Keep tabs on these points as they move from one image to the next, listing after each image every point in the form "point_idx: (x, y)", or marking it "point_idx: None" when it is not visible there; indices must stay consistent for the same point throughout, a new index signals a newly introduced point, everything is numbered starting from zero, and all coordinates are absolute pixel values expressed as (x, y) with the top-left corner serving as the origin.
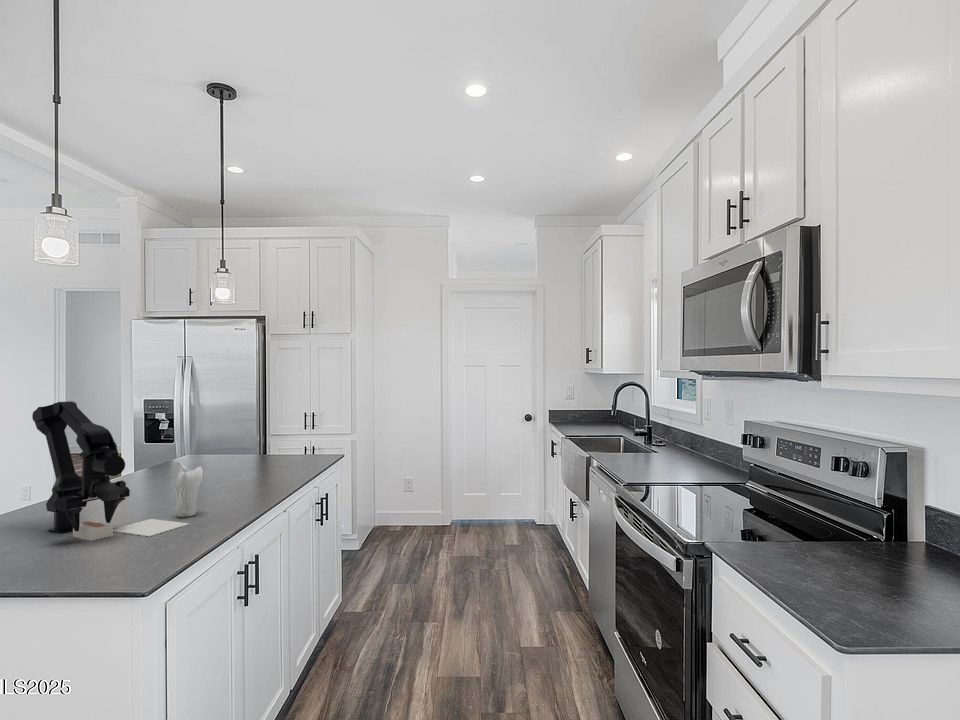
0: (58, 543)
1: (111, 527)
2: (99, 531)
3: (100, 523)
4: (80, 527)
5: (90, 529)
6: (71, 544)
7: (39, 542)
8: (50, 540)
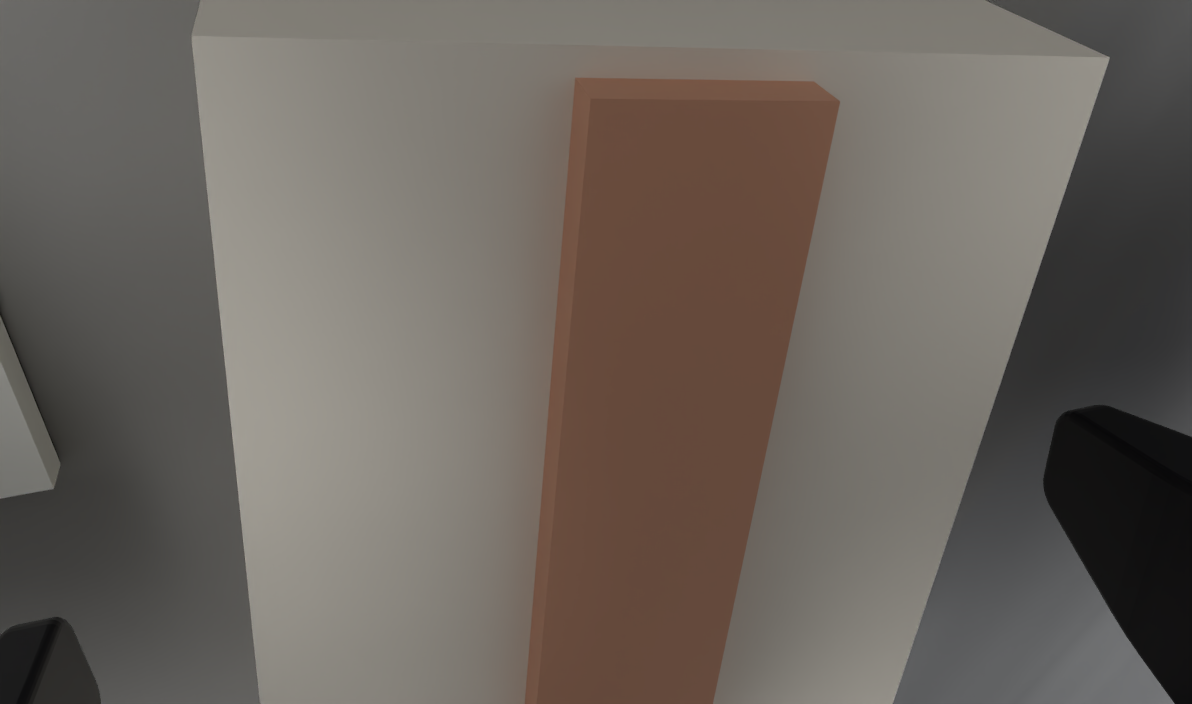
0: (1149, 401)
1: (263, 7)
2: (730, 7)
3: (407, 574)
4: (917, 591)
5: (1108, 58)
6: (1187, 101)
7: (1133, 675)
8: (1015, 670)
